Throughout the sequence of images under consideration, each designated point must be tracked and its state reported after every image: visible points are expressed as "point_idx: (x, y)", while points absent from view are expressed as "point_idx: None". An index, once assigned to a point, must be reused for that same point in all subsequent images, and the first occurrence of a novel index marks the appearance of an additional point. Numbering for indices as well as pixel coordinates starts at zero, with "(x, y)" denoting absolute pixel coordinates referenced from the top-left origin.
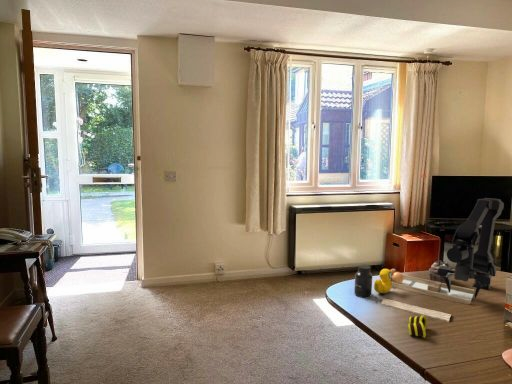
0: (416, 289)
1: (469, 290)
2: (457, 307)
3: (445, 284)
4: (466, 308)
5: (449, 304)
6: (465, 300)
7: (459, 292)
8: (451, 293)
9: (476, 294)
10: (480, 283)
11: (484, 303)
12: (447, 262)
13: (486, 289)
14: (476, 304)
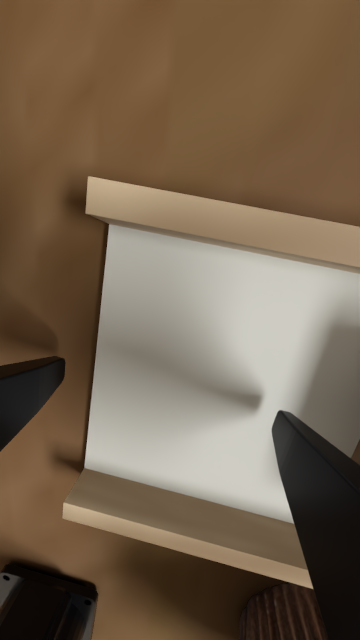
0: None
1: (103, 501)
2: (236, 40)
3: (306, 568)
4: (142, 73)
5: (317, 99)
6: (138, 191)
7: (184, 468)
8: (253, 425)
9: (14, 365)
10: None
11: (8, 319)
12: None
13: (18, 568)
14: (59, 261)
